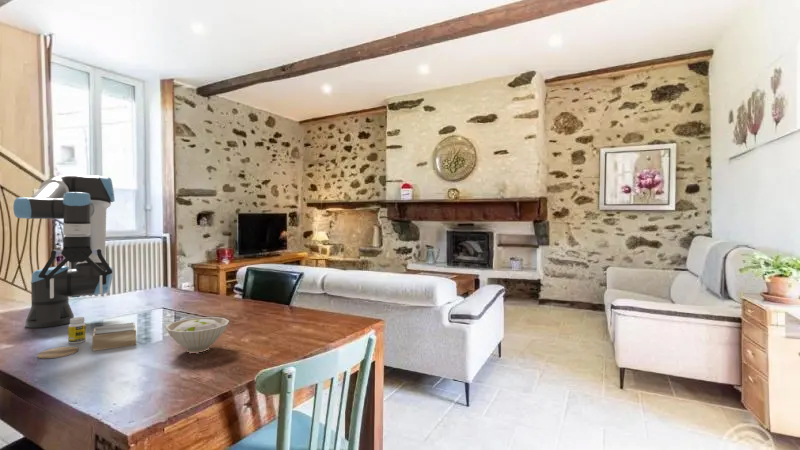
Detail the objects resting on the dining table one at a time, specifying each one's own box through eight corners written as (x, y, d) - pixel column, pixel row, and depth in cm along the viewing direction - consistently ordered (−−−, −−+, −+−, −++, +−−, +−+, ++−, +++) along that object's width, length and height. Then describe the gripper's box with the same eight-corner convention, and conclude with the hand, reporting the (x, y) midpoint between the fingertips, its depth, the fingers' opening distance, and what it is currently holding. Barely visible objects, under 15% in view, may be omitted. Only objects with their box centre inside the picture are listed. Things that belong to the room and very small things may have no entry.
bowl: (163, 363, 122) (163, 331, 122) (166, 345, 139) (166, 317, 139) (231, 354, 131) (231, 324, 131) (227, 338, 148) (227, 311, 148)
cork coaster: (40, 351, 131) (40, 350, 131) (79, 346, 137) (79, 344, 137) (35, 360, 123) (35, 358, 123) (76, 354, 129) (76, 352, 129)
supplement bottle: (75, 344, 140) (75, 320, 139) (64, 343, 140) (64, 319, 140) (89, 340, 144) (89, 317, 144) (78, 339, 145) (78, 316, 145)
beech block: (94, 341, 143) (94, 326, 143) (134, 336, 150) (134, 322, 150) (92, 350, 133) (92, 334, 133) (135, 344, 140) (135, 329, 140)
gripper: (27, 237, 131) (27, 301, 132) (120, 235, 146) (120, 293, 146) (31, 236, 138) (31, 297, 138) (120, 235, 152) (120, 290, 152)
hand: (77, 295), depth 142 cm, fingers open, 13 cm apart
